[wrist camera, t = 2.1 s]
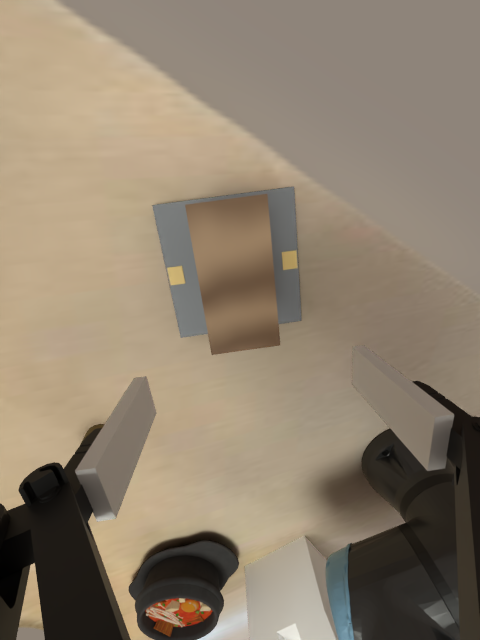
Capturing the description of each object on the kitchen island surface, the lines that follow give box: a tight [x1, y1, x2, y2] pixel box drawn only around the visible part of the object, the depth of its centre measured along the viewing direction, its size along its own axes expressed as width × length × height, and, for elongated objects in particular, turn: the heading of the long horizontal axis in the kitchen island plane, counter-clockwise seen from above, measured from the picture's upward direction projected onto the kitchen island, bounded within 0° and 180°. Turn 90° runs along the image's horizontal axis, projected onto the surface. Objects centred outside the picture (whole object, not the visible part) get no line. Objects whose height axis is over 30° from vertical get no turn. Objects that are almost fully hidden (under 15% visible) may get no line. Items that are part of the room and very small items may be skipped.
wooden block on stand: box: [185, 194, 280, 355], centre depth 29 cm, size 14×7×12 cm, turn 7°
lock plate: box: [152, 187, 301, 338], centre depth 32 cm, size 18×18×8 cm
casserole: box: [129, 540, 239, 640], centre depth 51 cm, size 25×19×8 cm
